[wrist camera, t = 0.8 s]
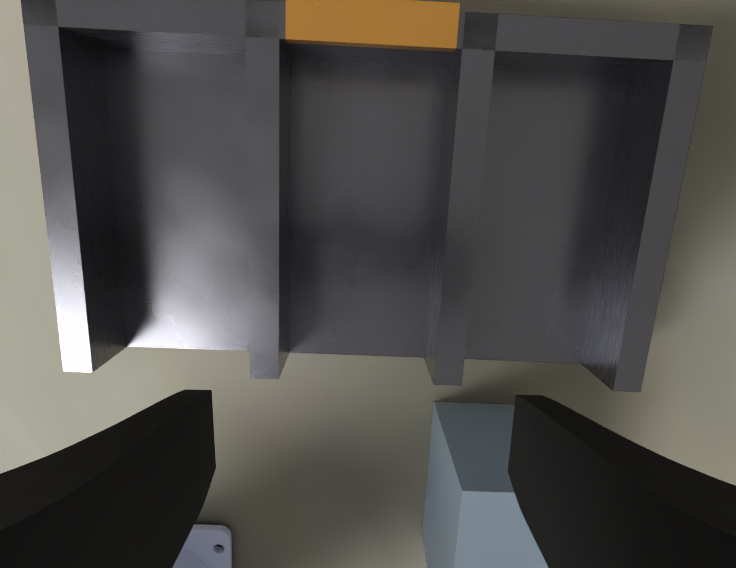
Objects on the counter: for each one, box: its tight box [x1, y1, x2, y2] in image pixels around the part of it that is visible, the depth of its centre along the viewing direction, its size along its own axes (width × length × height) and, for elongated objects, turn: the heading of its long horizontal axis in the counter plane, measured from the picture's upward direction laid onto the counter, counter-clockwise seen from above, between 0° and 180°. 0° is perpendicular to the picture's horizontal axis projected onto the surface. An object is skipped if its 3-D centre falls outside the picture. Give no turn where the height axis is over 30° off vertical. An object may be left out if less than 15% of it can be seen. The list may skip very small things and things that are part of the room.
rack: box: [21, 0, 713, 392], centre depth 17 cm, size 12×21×4 cm, turn 87°
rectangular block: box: [422, 402, 548, 568], centre depth 19 cm, size 7×4×6 cm, turn 177°
